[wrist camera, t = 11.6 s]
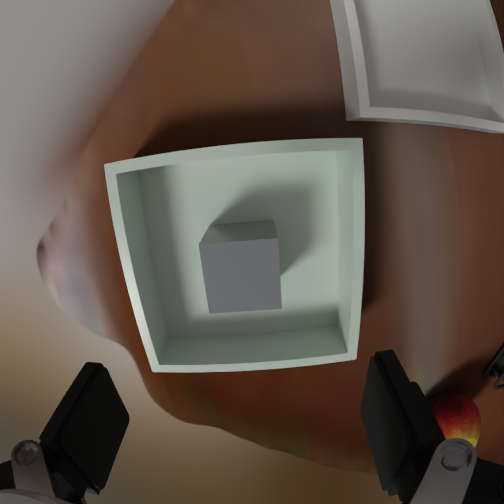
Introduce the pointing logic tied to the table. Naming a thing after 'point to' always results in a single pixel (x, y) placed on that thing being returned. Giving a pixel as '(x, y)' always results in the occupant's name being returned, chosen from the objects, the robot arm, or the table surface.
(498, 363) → the submachine gun
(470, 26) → the tub
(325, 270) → the bin
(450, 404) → the fruit
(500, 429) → the table surface
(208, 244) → the stone block
